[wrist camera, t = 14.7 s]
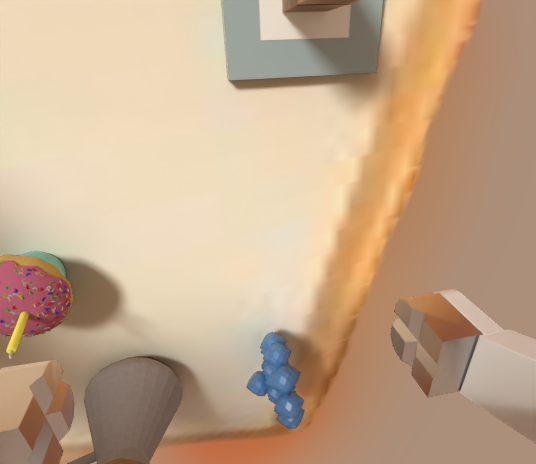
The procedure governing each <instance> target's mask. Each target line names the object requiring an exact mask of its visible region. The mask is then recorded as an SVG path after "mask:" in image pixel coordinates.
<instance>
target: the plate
mask: <svg viewBox="0 0 536 464" xmlns="http://www.w3.org/2000/svg"><path fill="white" fill-rule="evenodd" d="M221 4H222V16H223V28H224V40H225V52H226V64H227V76H228V80H246V79H265V78H284V77H303V76H321V75H340V74H359V73H376V70H377V59H378V49H379V38H380V28H381V18H382V7H383V0H359V1H356V2H353V3H350V5H344V6H342V7H339V8H336V9H333V10H330V11H322V12H282V0H221Z"/></svg>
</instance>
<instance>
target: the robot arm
mask: <svg viewBox="0 0 536 464" xmlns="http://www.w3.org/2000/svg"><path fill="white" fill-rule="evenodd" d="M394 312H395V313H396V314H397V315H398V318H397V319H396V320H395V322H394V323H393V324H392V328H391V339H392V343H393V347H394V349H395V351H396V353H397V355H398V356H399V357H400V359H401V360H402V361H403V362H405V363H407V364H409V365H410V366H412V376H413V378H414V379H415V380H416V381H417V383H418V385H419V386H420V387H421V389H422V390H423V392H424V393H425V394H426V396H427V397H433V396H438V395H443V394H448V393H453V392H458V391H460V394H462V395H463V396H465V397H466V398H468V399H470V400H471V401H472V402H474V403H475V404H477V405H478V406H480V407H481V408H483V409H485V410H486V411H487V412H489V413H491V414H492V415H494V416H495V417H496V418H498V419H499V420H501V421H502V422H504V423H505V424H507V425H508V426H510V427H511V428H513V429H514V430H516V431H517V432H519V433H520V434H522V435H523V436H525V437H526V438H528V439H529V440H531V441H532V442H534V443H535V444H536V340H535V339H532V338H530V337H527V336H524V335H522V334H520V333H517V332H514V331H512V330H505V331H504V330H503V329H502V328H500V327H499V326H498V325H497V324H496V323H495V322H494V321H492V320H491V319H490V318H489V317H488V316H487V315H486V314H484V313H483V312H482V311H481V310H480V309H478V308H477V307H476V306H475V305H474V304H473V303H472V302H470V301H469V300H468V299H467V298H466V297H465V296H463V295H462V294H461V293H460V292H459V291H457V290H454V289H449V290H444V291H439V292H434V293H429V294H423V295H418V296H413V297H408V298H402V299H399V300H398V301H397V303H396V305H395V310H394ZM62 373H63V370H62V368H61V367H60V365H59V363H58V361H55V360H49V361H43V362H36V363H30V364H23V365H16V366H10V367H3V368H1V369H0V464H59V463H60V460H61V456H62V453H63V449H62V447H61V445H60V443H59V441H60V440H61V439H62V438H63V437H64V436H65V434H66V433H67V432H68V431H69V430H70V427H71V424H72V420H73V415H74V398H73V393H72V390H71V388H70V386H69V385H68V384H66V383H64V382H62V381H60V378H61V376H62Z"/></svg>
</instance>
